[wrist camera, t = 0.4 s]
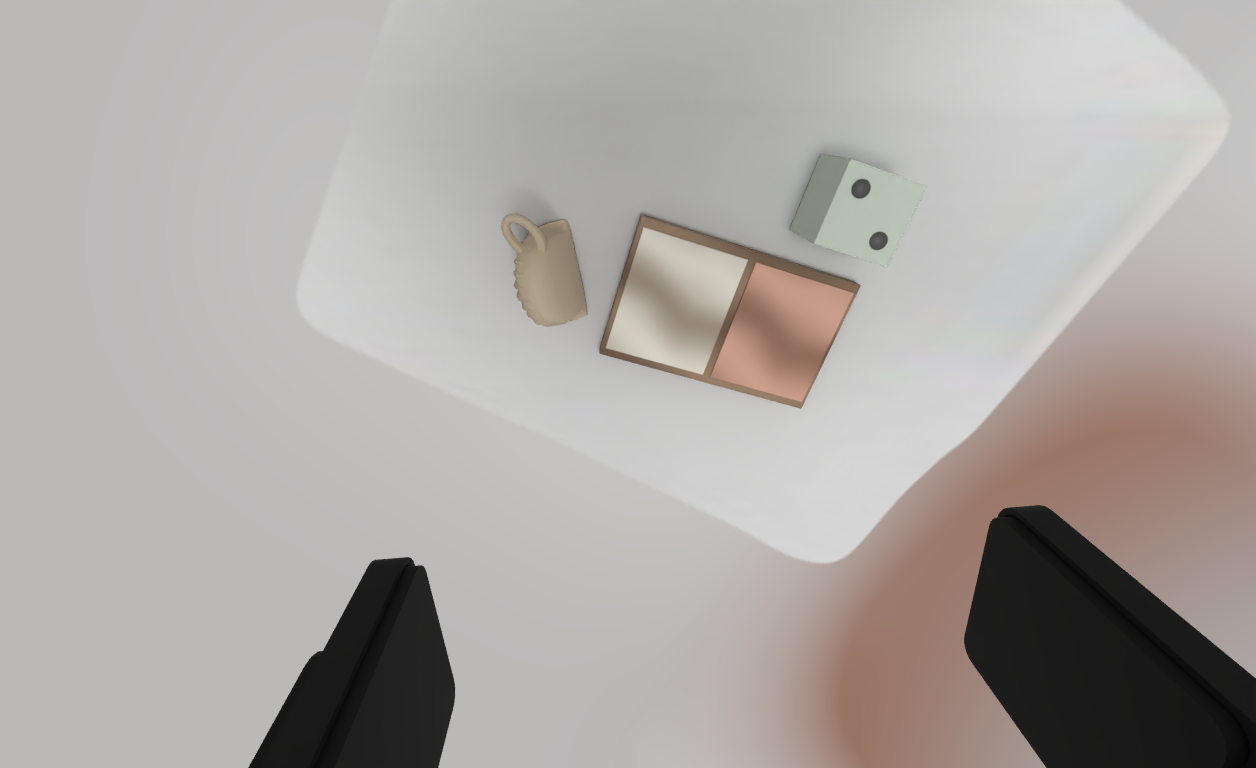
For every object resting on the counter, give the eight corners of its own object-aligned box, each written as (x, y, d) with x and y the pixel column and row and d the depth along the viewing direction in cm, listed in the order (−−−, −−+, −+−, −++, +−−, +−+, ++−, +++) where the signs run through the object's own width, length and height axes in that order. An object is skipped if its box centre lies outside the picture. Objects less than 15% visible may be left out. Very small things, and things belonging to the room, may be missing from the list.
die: (820, 154, 37) (851, 158, 33) (888, 178, 38) (928, 185, 34) (789, 229, 39) (814, 243, 35) (855, 250, 40) (887, 267, 36)
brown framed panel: (641, 214, 39) (642, 216, 37) (854, 281, 41) (861, 286, 40) (599, 348, 42) (599, 354, 41) (797, 402, 45) (802, 409, 44)
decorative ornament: (532, 324, 42) (522, 351, 37) (504, 205, 38) (490, 218, 33) (587, 315, 41) (585, 342, 37) (565, 195, 38) (559, 207, 33)
